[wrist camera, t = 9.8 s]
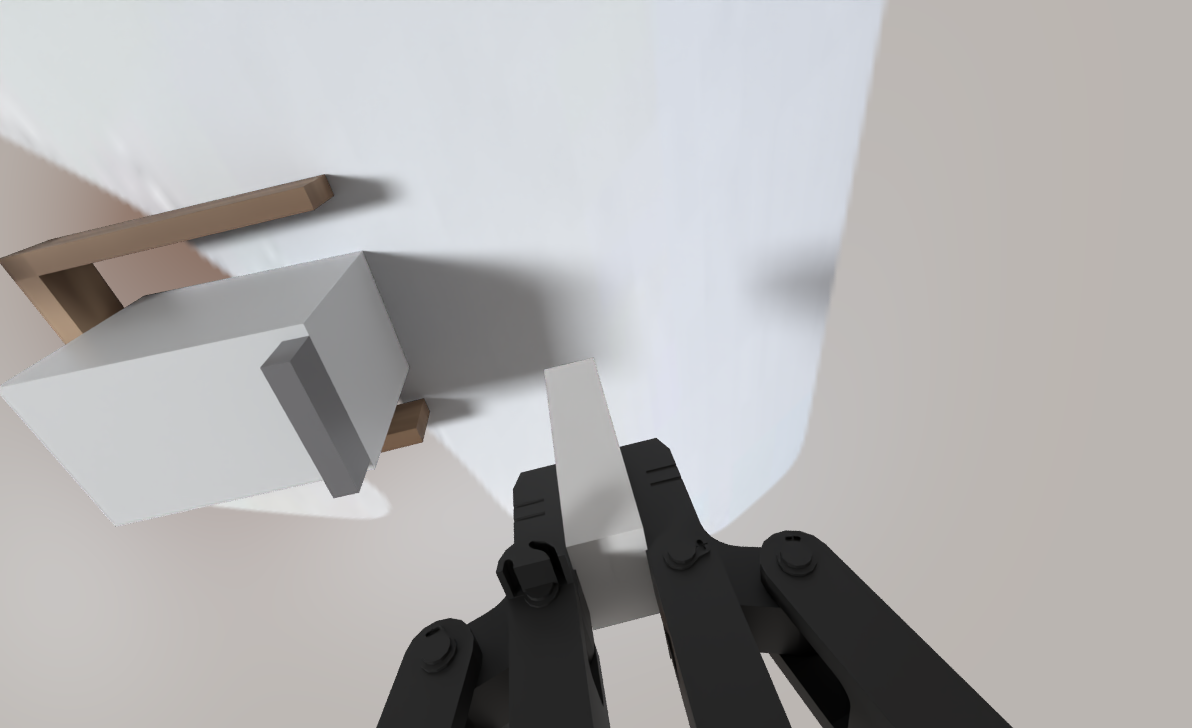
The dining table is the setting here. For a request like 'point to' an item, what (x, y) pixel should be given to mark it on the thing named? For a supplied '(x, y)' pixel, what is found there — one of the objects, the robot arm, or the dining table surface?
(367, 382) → the grey box with ridge
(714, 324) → the dining table surface
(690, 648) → the robot arm
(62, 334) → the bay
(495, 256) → the dining table surface
